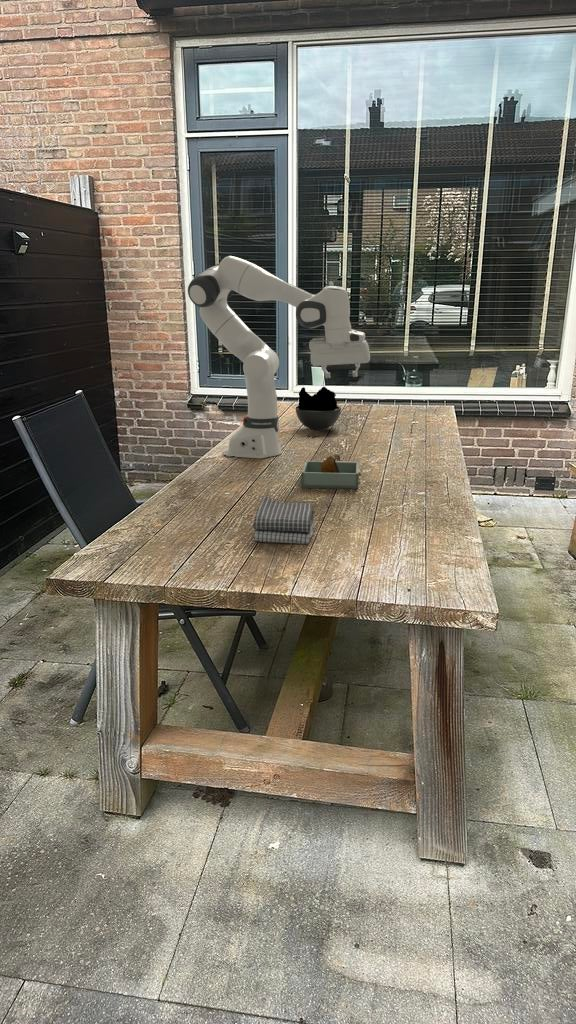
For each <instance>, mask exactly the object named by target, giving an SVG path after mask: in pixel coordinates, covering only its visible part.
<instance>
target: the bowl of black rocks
mask: <svg viewBox="0 0 576 1024" xmlns="http://www.w3.org/2000/svg"><path fill="white" fill-rule="evenodd" d="M336 396H337V395H336V393H335V392H334V391H333V390H330V389H328V388H327V387H326V386H322V387H321V388H320V389H318V391H317V392H316V393H314V394H313V395H311V394H310V393H308V391H306V387H304V386H303V387H301V389H300V390H299V392H298V405H297V406H295V413H296V417H297V418H298V420H299V422H300V423H301V425H303V426H305V427H306V428H307V429H310V430H312V431H324V430H327V429H329V428H331V427H332V426H334V424H336V422H337V421H338V419H339V417H340V414H341V412H342V411H341V410H342V407H341V406H339V405H338V402H337V399H336Z"/></svg>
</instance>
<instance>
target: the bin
mask: <svg viewBox="0 0 576 1024" xmlns="http://www.w3.org/2000/svg"><path fill="white" fill-rule="evenodd" d="M323 461H324V460H323ZM323 461H322V460H320V461H319V460H317V461H316V460H315V461H314V460H306V461H304V462H305V463H304V464H303V468H302V471H301V489H302V488H303V489H337V490H339V489H340V490H342V489H343V490H359V476H360V475H359V468H360V462H359V461H358V462H336V463H337V466H338V469H339V473H322V472H321V464H320V462H323Z"/></svg>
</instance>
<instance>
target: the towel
mask: <svg viewBox="0 0 576 1024" xmlns="http://www.w3.org/2000/svg"><path fill="white" fill-rule="evenodd" d="M314 506H315V505H314V503H313V502H311V503H309V502H308V503H307V502H306V503H305V502H280V501H279V500H277V499H274V498H271V497H269V496H264V497H262V500H261V502H260V504H259V506H258V508H257V512H256V513H255V515H254V517H253V518H254V519H253V523H252V524H253V525H252V526H253V529H254V532H253V541H254V542H261V543H262V542H263V543H276V544H277V543H278V544H279V543H280V544H298V545H300V544H302V545H303V544H306V545H307V544H310V540H311V539H312V536H313V534H314V530H313V528H314V525H315V515H314V514H315V510H314Z"/></svg>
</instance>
